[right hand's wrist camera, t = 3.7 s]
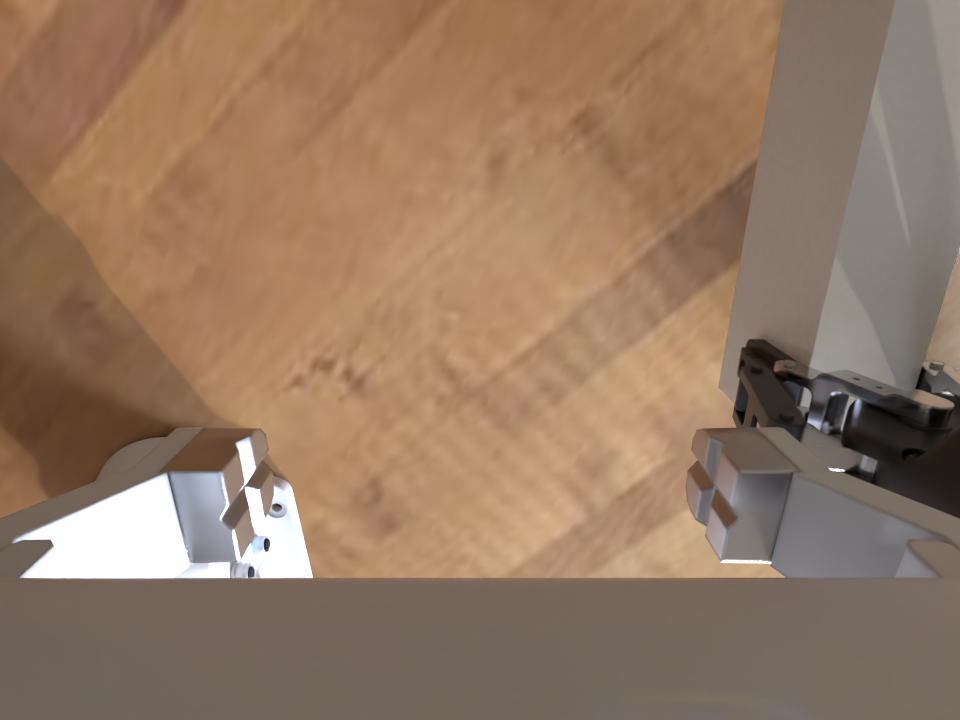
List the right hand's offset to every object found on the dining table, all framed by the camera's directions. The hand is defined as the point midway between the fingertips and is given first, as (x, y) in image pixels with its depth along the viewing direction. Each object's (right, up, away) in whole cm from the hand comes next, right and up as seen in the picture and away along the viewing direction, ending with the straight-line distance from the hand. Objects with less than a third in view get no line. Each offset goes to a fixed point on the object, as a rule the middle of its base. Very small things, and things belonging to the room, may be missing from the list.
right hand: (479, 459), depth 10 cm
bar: (+17, +13, +18) cm, 28 cm away
